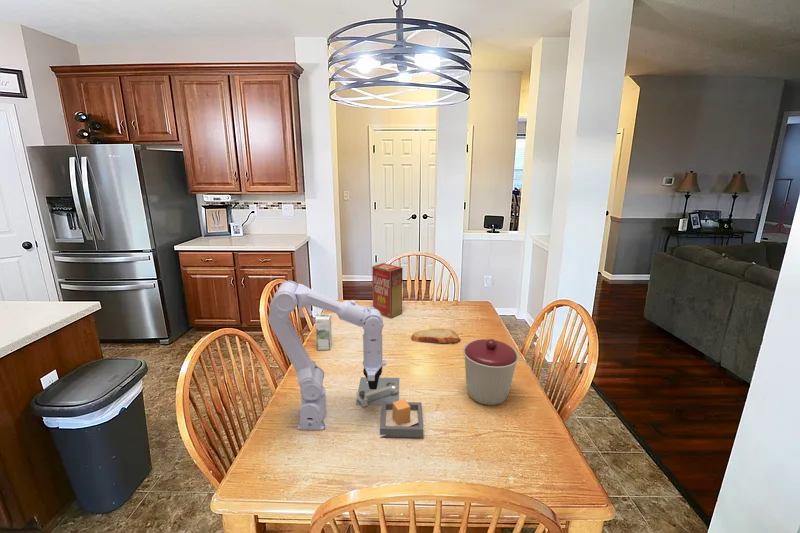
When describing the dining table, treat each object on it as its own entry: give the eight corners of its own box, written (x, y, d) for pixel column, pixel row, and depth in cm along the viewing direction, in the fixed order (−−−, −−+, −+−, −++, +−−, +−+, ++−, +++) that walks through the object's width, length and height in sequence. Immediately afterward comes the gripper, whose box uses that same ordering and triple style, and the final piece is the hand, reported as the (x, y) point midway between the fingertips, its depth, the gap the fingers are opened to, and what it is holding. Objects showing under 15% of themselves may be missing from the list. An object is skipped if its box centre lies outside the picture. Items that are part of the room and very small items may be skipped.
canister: (493, 376, 141) (498, 324, 135) (525, 405, 125) (532, 348, 119) (450, 386, 135) (453, 332, 129) (478, 418, 119) (483, 357, 113)
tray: (423, 438, 110) (423, 429, 109) (380, 438, 110) (380, 428, 109) (421, 411, 122) (421, 402, 121) (382, 410, 122) (382, 401, 121)
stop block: (404, 415, 119) (404, 399, 117) (409, 423, 115) (410, 406, 113) (392, 419, 117) (392, 402, 115) (397, 427, 113) (398, 410, 112)
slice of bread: (407, 338, 170) (407, 331, 169) (434, 327, 182) (434, 320, 181) (437, 353, 158) (437, 345, 157) (464, 340, 170) (464, 332, 168)
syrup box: (332, 344, 164) (331, 312, 160) (330, 350, 158) (329, 318, 154) (319, 344, 164) (317, 312, 160) (316, 350, 158) (314, 318, 154)
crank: (393, 387, 132) (393, 377, 131) (400, 395, 128) (401, 385, 126) (356, 399, 125) (356, 389, 124) (362, 407, 121) (362, 397, 120)
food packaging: (371, 312, 198) (371, 265, 191) (384, 306, 205) (384, 262, 198) (391, 319, 190) (391, 271, 183) (403, 313, 197) (403, 267, 190)
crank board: (398, 409, 123) (398, 402, 122) (355, 408, 123) (355, 401, 122) (399, 380, 138) (399, 374, 137) (360, 380, 138) (360, 374, 137)
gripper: (384, 361, 107) (385, 402, 111) (387, 337, 121) (387, 375, 125) (359, 361, 107) (360, 402, 111) (365, 337, 121) (365, 374, 125)
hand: (373, 388), depth 118 cm, fingers closed
